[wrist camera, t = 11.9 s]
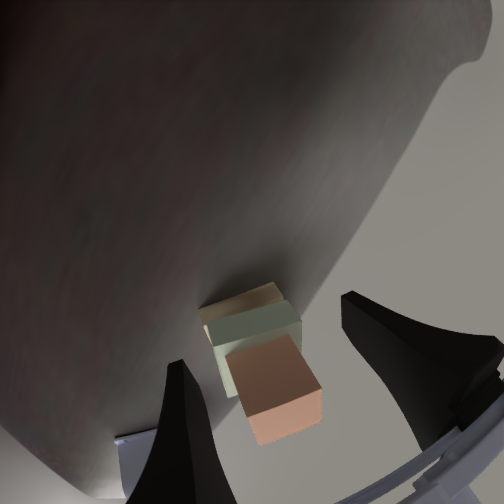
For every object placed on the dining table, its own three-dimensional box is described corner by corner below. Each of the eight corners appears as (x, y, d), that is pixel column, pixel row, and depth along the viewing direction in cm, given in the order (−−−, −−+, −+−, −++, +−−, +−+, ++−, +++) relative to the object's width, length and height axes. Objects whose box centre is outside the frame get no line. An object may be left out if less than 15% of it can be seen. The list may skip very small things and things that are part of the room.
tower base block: (218, 353, 26) (225, 374, 24) (197, 304, 23) (203, 326, 21) (281, 329, 27) (292, 348, 25) (270, 277, 24) (283, 295, 22)
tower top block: (220, 374, 24) (227, 397, 22) (205, 322, 21) (213, 346, 19) (288, 353, 25) (300, 374, 23) (286, 299, 22) (301, 320, 20)
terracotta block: (238, 392, 22) (259, 446, 17) (224, 356, 19) (246, 417, 15) (293, 372, 22) (321, 421, 18) (288, 333, 20) (321, 388, 16)
